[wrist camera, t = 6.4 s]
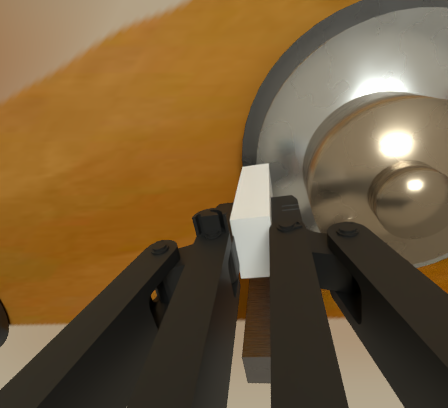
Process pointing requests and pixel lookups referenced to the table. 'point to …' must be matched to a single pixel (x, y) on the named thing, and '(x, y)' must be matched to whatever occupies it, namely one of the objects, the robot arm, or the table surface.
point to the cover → (384, 171)
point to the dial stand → (257, 332)
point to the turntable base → (326, 29)
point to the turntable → (351, 88)
